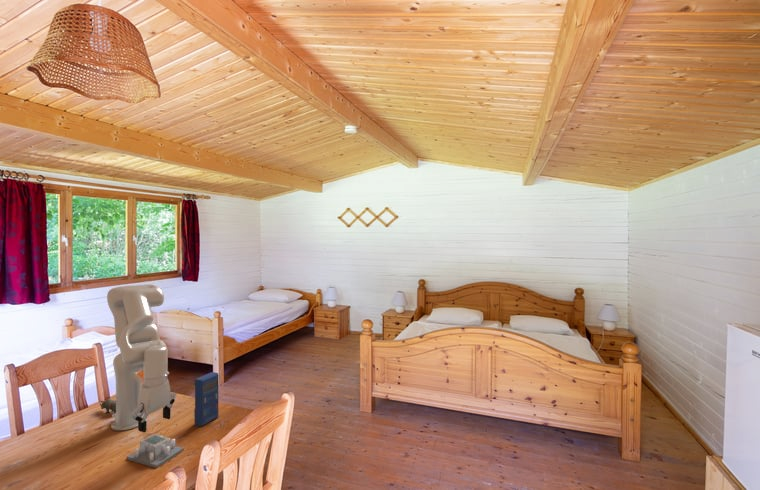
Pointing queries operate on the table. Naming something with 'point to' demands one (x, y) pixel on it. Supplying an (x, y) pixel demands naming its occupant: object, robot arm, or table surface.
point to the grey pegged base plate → (150, 460)
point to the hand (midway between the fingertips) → (154, 424)
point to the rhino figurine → (109, 405)
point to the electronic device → (206, 399)
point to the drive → (155, 445)
